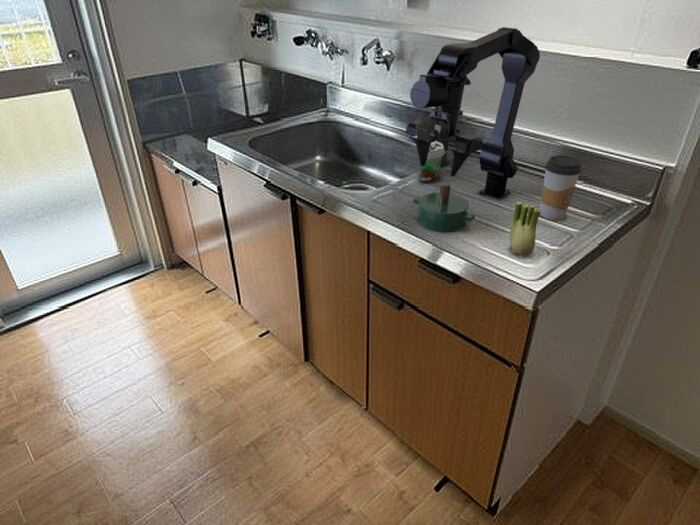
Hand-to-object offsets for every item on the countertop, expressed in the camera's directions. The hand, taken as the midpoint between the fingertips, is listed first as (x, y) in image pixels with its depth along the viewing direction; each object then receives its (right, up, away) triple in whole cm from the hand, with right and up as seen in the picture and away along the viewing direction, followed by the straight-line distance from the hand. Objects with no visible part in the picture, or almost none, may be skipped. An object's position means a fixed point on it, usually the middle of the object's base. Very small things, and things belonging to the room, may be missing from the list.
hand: (437, 171), depth 120 cm
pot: (+2, -12, +6) cm, 14 cm away
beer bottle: (+7, +10, +42) cm, 43 cm away
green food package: (+4, +4, +31) cm, 32 cm away
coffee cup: (+32, -10, +9) cm, 35 cm away
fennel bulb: (+18, -20, -7) cm, 28 cm away
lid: (+2, -8, +4) cm, 9 cm away
